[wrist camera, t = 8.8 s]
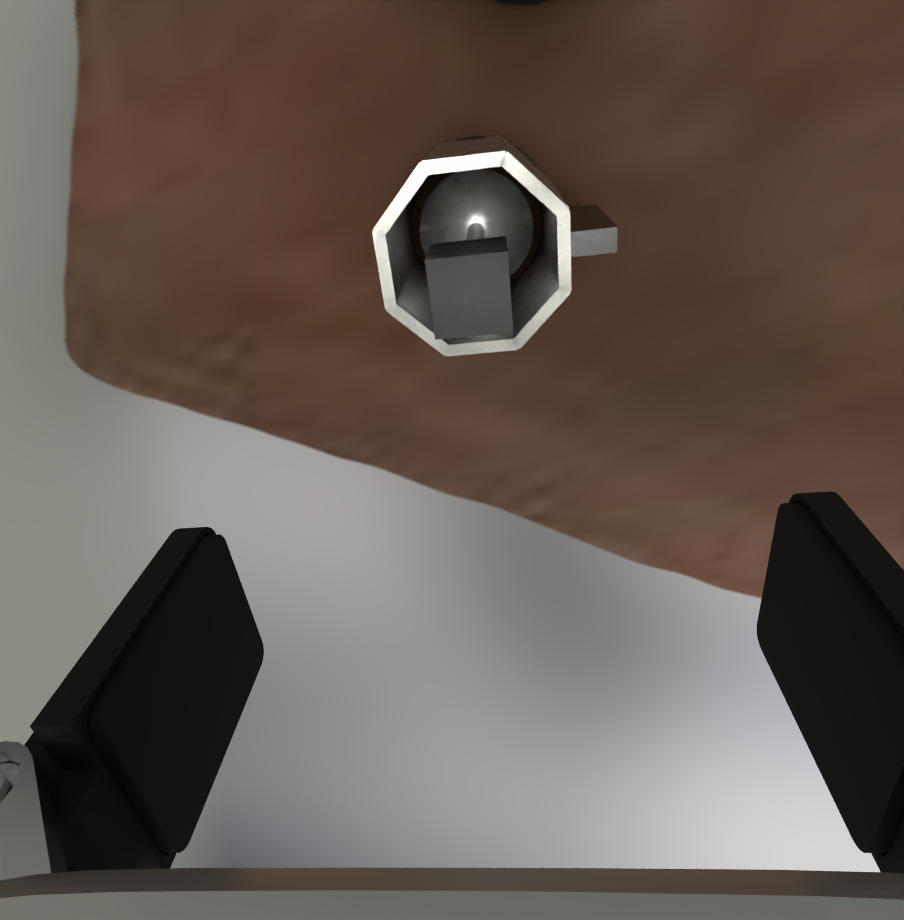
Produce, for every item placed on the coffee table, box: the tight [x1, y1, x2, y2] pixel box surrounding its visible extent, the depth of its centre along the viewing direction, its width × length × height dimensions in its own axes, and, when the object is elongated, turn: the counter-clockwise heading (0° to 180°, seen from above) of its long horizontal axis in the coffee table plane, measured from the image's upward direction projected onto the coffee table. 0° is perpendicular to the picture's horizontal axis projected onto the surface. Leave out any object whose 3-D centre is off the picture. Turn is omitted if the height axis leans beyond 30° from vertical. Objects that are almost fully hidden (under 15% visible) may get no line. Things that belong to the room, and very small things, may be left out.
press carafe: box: [372, 135, 617, 356], centre depth 35 cm, size 12×9×12 cm
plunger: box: [420, 168, 533, 340], centre depth 31 cm, size 7×7×14 cm
